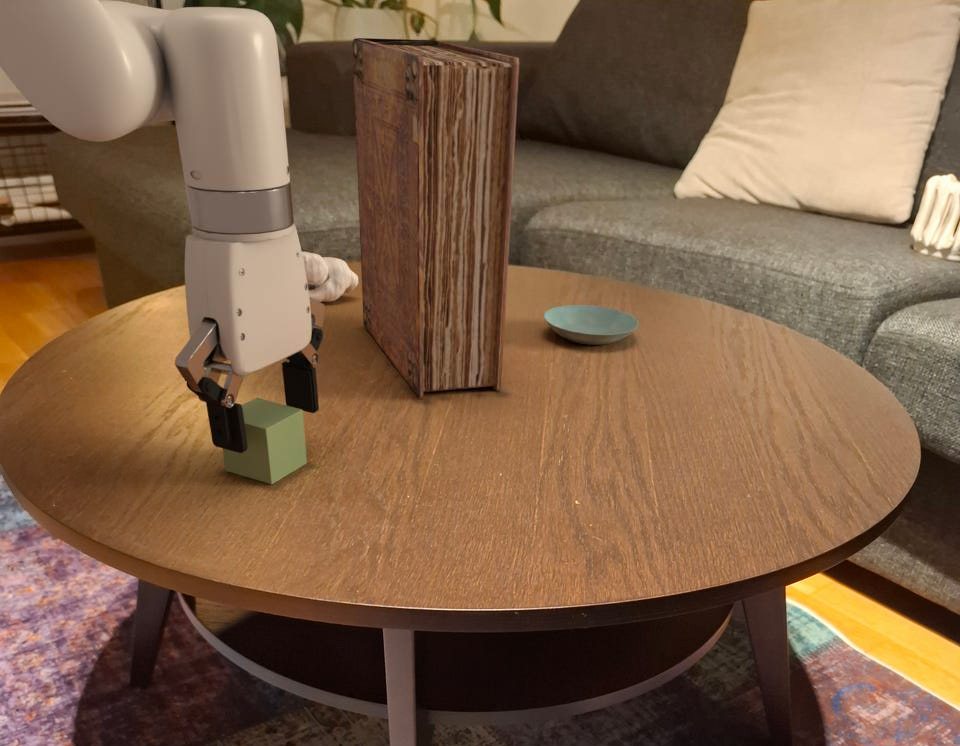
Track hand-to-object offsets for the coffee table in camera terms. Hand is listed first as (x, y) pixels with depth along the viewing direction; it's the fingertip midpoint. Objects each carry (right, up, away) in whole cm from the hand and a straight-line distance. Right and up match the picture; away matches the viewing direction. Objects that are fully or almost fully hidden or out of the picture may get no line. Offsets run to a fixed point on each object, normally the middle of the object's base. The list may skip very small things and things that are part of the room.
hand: (268, 428), depth 77 cm
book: (+12, +15, +27) cm, 33 cm away
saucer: (+32, +20, +36) cm, 52 cm away
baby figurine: (-5, +28, +44) cm, 52 cm away
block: (-1, -3, +2) cm, 4 cm away
